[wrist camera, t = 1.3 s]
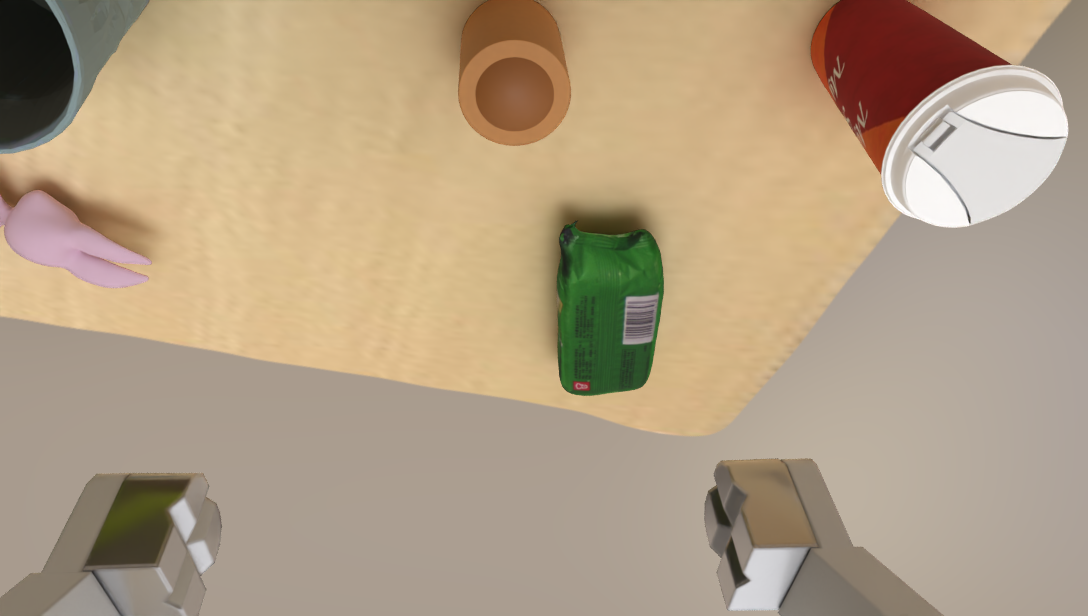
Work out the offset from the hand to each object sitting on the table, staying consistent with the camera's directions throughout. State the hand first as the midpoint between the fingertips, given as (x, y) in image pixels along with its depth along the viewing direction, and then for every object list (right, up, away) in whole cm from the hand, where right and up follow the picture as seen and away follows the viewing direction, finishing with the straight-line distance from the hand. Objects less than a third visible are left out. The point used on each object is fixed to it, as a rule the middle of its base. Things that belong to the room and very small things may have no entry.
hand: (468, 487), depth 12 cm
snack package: (+5, +4, +42) cm, 42 cm away
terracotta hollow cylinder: (-1, +18, +29) cm, 34 cm away
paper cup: (+19, +19, +30) cm, 40 cm away
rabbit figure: (-31, +10, +34) cm, 47 cm away
